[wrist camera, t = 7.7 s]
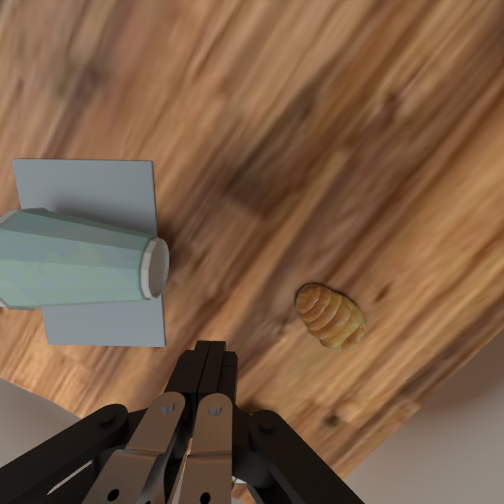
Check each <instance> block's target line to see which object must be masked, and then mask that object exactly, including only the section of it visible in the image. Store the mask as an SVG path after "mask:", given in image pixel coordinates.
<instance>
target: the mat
mask: <svg viewBox="0 0 504 504" xmlns="http://www.w3.org/2000/svg"><path fill="white" fill-rule="evenodd" d="M12 164H13V169H14V174H15V179H16V184H17V189H18V194H19V199H20V204H21V209H28V208H41V207H44V208H46V209H47V210H49V211H52V212H56V213H61V214H65V215H69V216H74V217H78V218H82V219H87V220H91V221H95V222H100V223H104V224H108V225H113V226H117V227H121V228H125V229H130V230H134V231H138V232H143V233H147V234H151V235H156V236H157V237H158V230H157V216H156V203H155V189H154V175H153V162H152V161H107V160H48V159H12ZM41 310H42V315H43V320H44V326H45V331H46V336H47V341H48V344H50V345H100V346H151V347H165V346H166V340H165V326H164V313H163V299H162V294H161V295H160V296H159V297H158V298H155V299H151V300H150V301H138V302H121V303H104V304H88V305H71V306H54V307H41Z"/></svg>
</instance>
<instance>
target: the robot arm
mask: <svg viewBox="0 0 504 504" xmlns="http://www.w3.org/2000/svg"><path fill="white" fill-rule="evenodd" d="M237 376H238V357H237V355H236V353H235V352H232V351H226V341H202V340H198V341H197V343H196V346H195V348H194V350H186V351H185V352H184V353H183V354H182V355H181V356H180V357H179V359H178V361H177V364H176V366H175V368H174V371H173V373H172V375H171V377H170V379H169V382H168V384H167V386H166V388H165V390H164V393H163V394H161V395H159V396H158V397H156V398H155V399H154V400H153V401H152V403H151V404H150V406H149V407H148V408H146V409H143V410H139V411H135V412H131V413H128V411H127V408H126V407H125V406H124V405H121V404H110V405H107V406H104V407H102V408H100V409H99V410H97V411H95V412H94V413H92V414H90V415H89V416H87V417H85V418H83V419H82V420H80V421H78V422H77V423H75V424H73V425H72V426H70V427H69V428H67V429H65V430H63V431H62V432H60V433H58V434H57V435H55V436H53V437H52V438H50V439H48V440H47V441H45V442H43V443H42V444H40V445H38V446H37V447H35V448H33V449H32V450H30V451H28V452H26V453H25V454H23V455H21V456H20V457H18V458H16V459H15V460H13V461H11V462H10V463H8V464H6V465H5V466H3V467H1V468H0V504H172V501H173V498H174V495H175V492H176V489H177V486H178V483H179V480H180V476H181V473H182V470H183V467H184V464H185V461H186V464H185V469H184V475H183V480H182V486H181V491H180V497H179V502H178V504H231V479H232V476H233V477H235V478H237V479H239V480H242V481H244V482H246V483H247V487H248V490H249V492H250V493H251V495H252V496H253V498H254V500H255V501H256V503H257V504H365V503H364V502H363V501H362V500H361V499H360V498H359V497H358V496H357V495H356V494H355V493H354V492H353V491H352V490H351V489H350V488H349V487H348V486H347V485H346V484H345V483H344V482H343V481H342V480H341V479H340V478H339V476H338V475H337V474H336V473H335V472H334V471H333V470H332V469H331V468H330V467H329V466H328V465H327V464H326V463H325V462H324V461H323V460H322V459H321V458H320V457H319V456H318V455H317V454H316V453H315V452H314V451H313V450H312V449H311V448H310V447H309V445H308V444H307V443H306V442H305V441H304V440H303V439H302V438H301V437H300V436H299V435H298V434H297V433H296V432H295V431H294V430H293V429H292V428H291V427H290V426H289V425H288V424H287V423H286V422H285V421H284V420H283V419H282V418H281V417H280V416H279V415H278V414H277V413H275V412H273V411H270V410H261V411H258V412H256V413H254V414H253V415H249V414H246V413H244V412H242V411H241V410H240V409H239V408H238V407H237V406H236V404H235V403H236V391H237ZM190 438H193V440H192V446H191V452H190V455H188V456H187V448H188V445H189V441H190ZM186 458H187V459H186ZM90 460H91V464H90V465H88V466H87V467H86V468H84V469H83V470H82V471H80V472H79V473H77V474H76V475H75V476H74V477H72V478H71V479H69V480H68V481H67V482H65V483H64V484H63V485H61V486H60V487H58V488H57V489H56V490H54V491H53V492H52V493H50V494H48V492H49V491H50V490H51V489H52V488H53V487H54V486H56V485H57V484H58V483H60V482H61V481H63V480H64V479H65V478H67V477H68V476H70V475H71V474H72V473H74V472H75V471H76V470H78V469H79V468H81V467H82V466H83V465H85V464H86V463H88V462H89V461H90ZM47 494H48V495H47Z"/></svg>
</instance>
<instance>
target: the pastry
mask: <svg viewBox="0 0 504 504" xmlns="http://www.w3.org/2000/svg"><path fill="white" fill-rule="evenodd" d="M295 307H296V309H297V311H298V312H299V314H300V317H301V320H302V321H303V322H304V323H305V325H306V326H307V328H308V331H309V333H310V334H311V335H313V336H315V337H316V338H318V339H319V340H320V343H321V344H322V345H323V346H325V347H328V348H329V349H333V350H336V351H342V352H344V351H348V350H349V349H351V348H353V347H354V346H355V345H356V344H358V343H359V342H360V340H361V337H362V336H363V335H364V333H365V330H366V323H367V321H366V318H365V317H364V316H363V315H362V312H361V310H360V308H359V307H358V306H357V305H356V304H354V303H353V302H351V301H350V300H349V299H348V298H346V297H345V296H343V295H341V294H338V293H336V292H334V291H332V290H330V289H328V288H326V287H324V286H321V285H316V284H308V285H305V286H304V287H303V288H302V289H301V290H300V291H299V293H298V296H297V298H296V305H295Z"/></svg>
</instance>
